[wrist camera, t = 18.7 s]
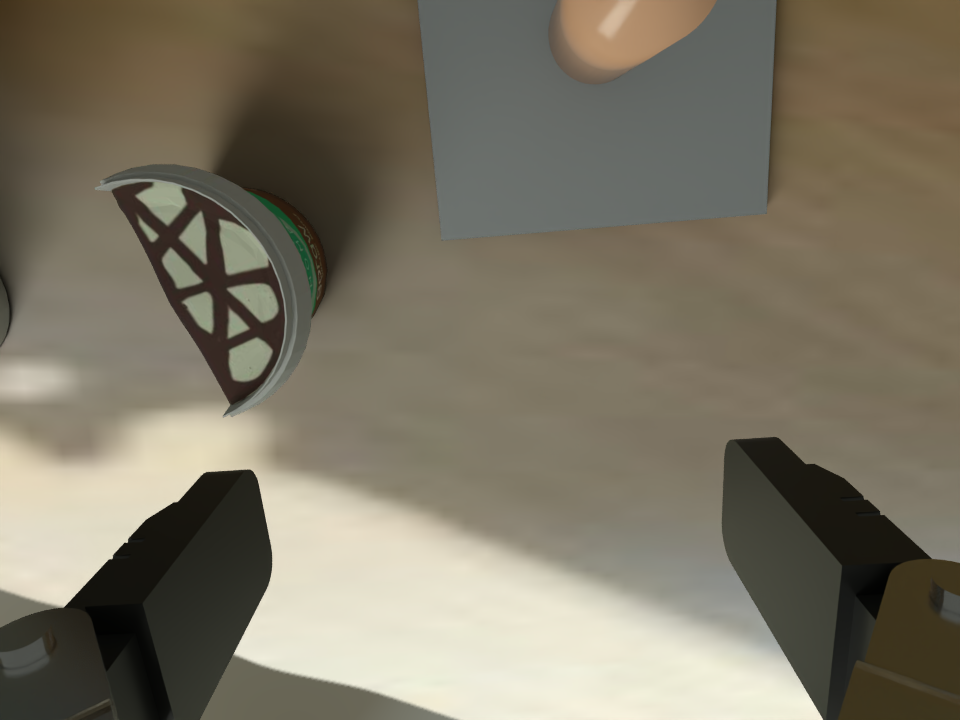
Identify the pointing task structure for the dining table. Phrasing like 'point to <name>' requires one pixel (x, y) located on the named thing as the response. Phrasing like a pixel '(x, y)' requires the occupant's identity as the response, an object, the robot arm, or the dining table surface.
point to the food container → (229, 271)
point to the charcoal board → (593, 123)
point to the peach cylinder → (618, 33)
